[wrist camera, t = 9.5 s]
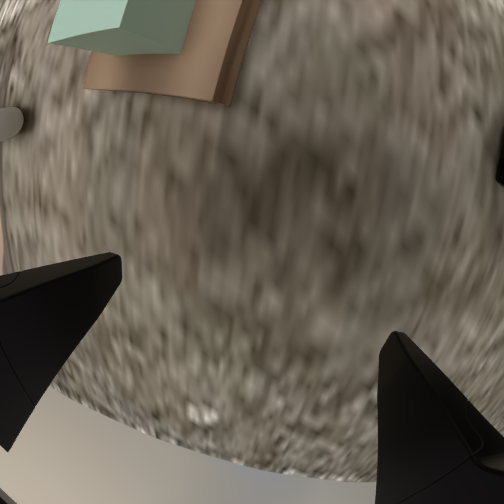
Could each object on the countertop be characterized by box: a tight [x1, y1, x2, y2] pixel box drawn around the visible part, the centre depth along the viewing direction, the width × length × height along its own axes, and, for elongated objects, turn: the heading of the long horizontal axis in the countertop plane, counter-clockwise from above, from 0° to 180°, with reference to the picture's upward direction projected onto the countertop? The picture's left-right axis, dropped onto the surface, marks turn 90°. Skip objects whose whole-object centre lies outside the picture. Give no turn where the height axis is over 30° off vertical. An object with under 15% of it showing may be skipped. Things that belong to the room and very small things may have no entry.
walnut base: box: [83, 0, 261, 106], centre depth 14 cm, size 10×10×4 cm
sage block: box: [48, 0, 196, 56], centre depth 9 cm, size 5×5×6 cm
